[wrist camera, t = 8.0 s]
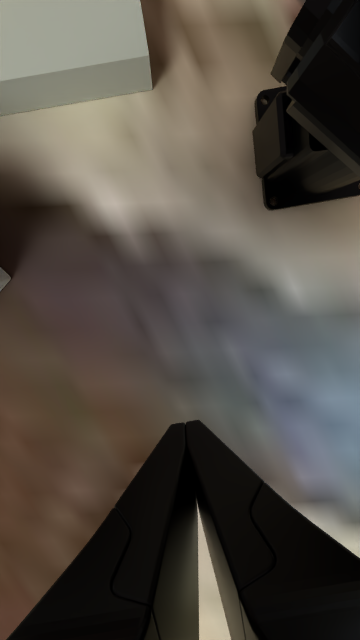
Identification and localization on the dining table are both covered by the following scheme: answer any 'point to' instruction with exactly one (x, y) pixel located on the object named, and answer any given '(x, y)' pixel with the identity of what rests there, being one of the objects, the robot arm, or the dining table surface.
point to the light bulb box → (3, 278)
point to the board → (70, 52)
